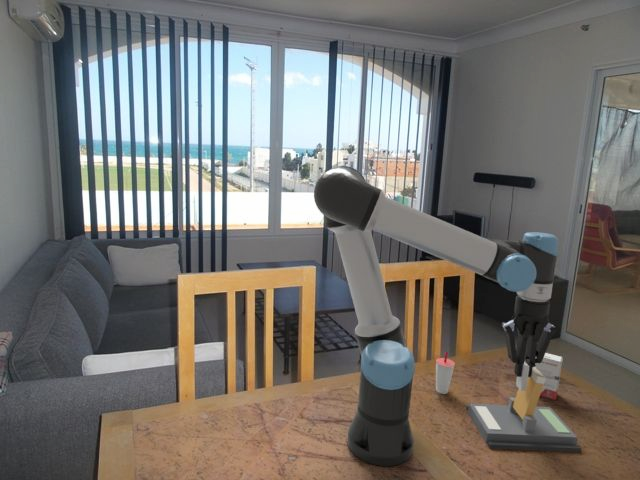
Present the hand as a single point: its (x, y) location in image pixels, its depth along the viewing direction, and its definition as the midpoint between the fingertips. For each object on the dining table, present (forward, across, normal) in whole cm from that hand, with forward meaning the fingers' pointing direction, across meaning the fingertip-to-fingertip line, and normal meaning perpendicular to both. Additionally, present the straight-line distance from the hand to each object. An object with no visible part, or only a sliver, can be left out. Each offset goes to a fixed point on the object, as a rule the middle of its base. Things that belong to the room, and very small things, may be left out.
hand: (520, 387), depth 114 cm
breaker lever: (+7, +1, 0) cm, 7 cm away
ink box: (+12, +16, +19) cm, 28 cm away
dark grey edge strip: (+11, +1, -8) cm, 14 cm away
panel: (+11, +1, 0) cm, 11 cm away
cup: (+11, -14, +17) cm, 25 cm away
